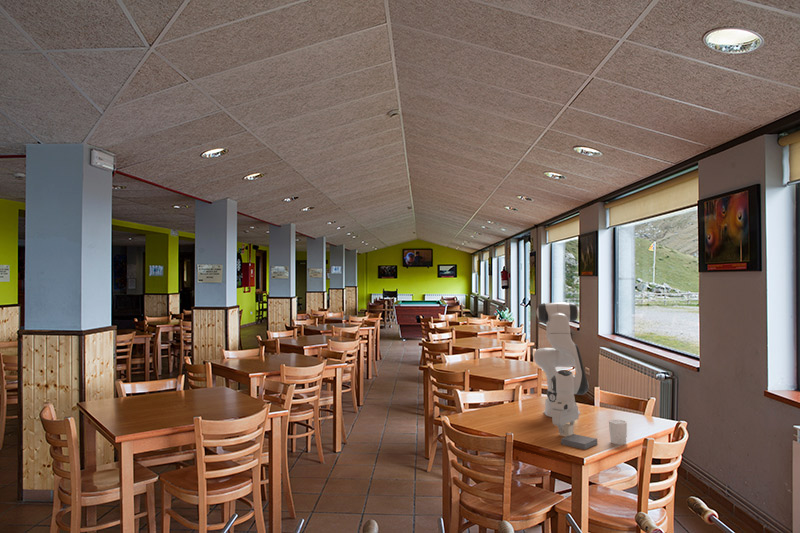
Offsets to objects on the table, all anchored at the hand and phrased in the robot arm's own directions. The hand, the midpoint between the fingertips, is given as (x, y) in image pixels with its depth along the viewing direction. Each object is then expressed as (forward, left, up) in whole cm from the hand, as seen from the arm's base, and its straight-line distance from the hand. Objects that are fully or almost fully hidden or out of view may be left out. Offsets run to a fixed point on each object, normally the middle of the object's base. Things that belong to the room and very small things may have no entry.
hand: (566, 431), depth 258 cm
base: (+10, +12, -2) cm, 16 cm away
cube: (0, 0, -2) cm, 2 cm away
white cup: (-5, +24, -2) cm, 25 cm away
